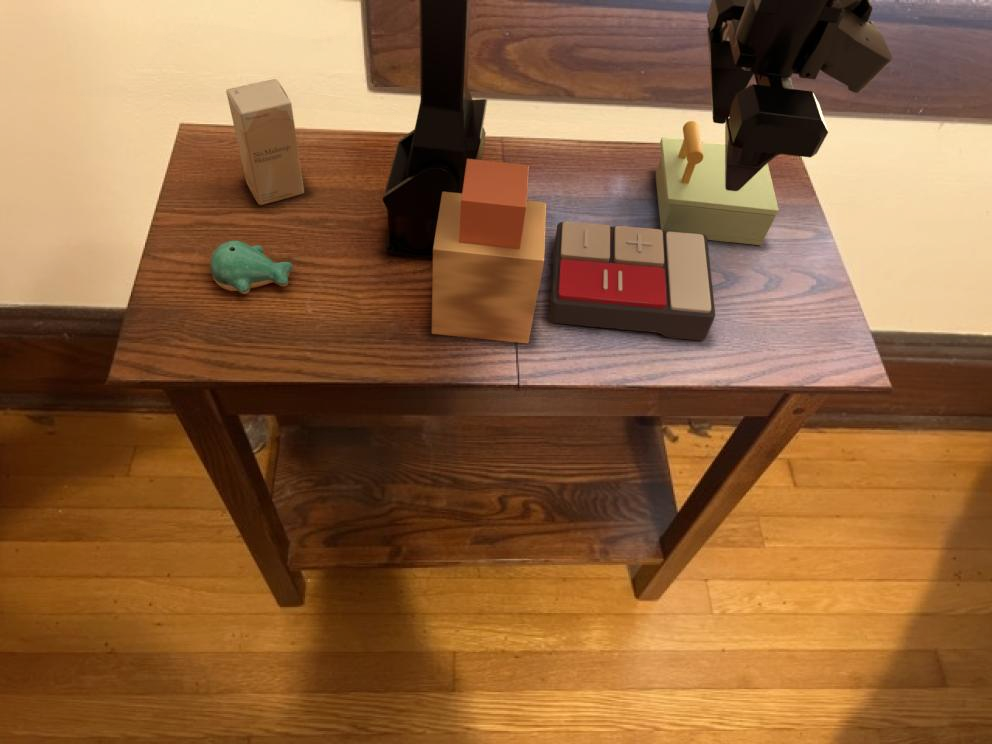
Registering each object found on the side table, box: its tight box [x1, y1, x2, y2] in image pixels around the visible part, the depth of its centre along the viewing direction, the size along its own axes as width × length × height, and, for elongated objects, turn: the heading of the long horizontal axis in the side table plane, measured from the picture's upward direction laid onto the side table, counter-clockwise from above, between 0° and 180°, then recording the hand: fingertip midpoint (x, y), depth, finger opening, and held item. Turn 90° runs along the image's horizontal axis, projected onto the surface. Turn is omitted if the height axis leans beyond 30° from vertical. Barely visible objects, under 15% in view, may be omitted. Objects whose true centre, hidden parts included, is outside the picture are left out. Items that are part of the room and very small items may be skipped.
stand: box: [431, 192, 547, 344], centre depth 65 cm, size 9×7×11 cm
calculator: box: [549, 220, 716, 341], centre depth 71 cm, size 11×4×15 cm
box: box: [225, 78, 305, 206], centre depth 73 cm, size 5×4×11 cm
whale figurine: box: [209, 240, 294, 295], centre depth 68 cm, size 6×7×4 cm
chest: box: [655, 155, 777, 246], centre depth 79 cm, size 11×10×4 cm
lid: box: [659, 120, 780, 216], centre depth 76 cm, size 11×10×5 cm
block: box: [459, 159, 530, 249], centre depth 59 cm, size 5×5×4 cm
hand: (724, 154), depth 64 cm, fingers open, 9 cm apart
